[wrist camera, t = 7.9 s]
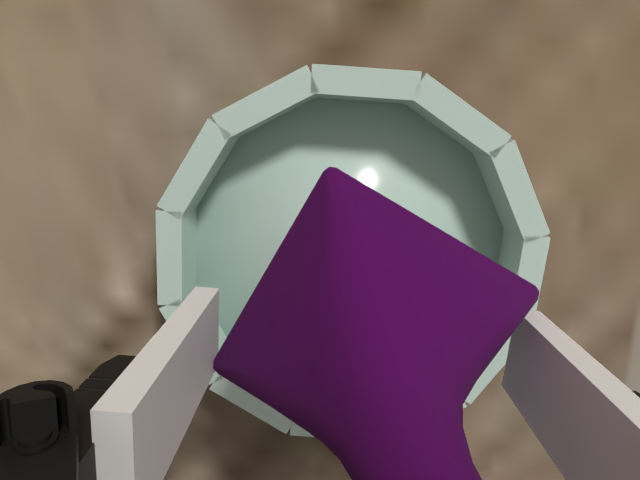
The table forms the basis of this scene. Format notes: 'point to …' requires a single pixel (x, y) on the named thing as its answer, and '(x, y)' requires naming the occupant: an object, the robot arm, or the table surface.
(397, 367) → the perfume bottle
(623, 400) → the robot arm
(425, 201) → the round tray
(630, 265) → the table surface
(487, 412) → the table surface
